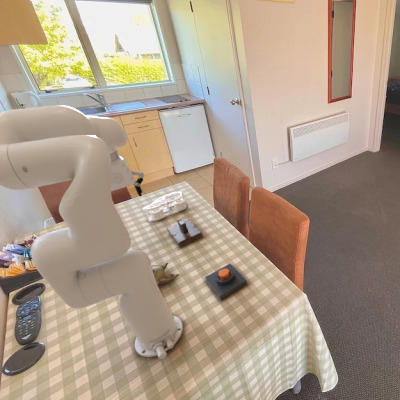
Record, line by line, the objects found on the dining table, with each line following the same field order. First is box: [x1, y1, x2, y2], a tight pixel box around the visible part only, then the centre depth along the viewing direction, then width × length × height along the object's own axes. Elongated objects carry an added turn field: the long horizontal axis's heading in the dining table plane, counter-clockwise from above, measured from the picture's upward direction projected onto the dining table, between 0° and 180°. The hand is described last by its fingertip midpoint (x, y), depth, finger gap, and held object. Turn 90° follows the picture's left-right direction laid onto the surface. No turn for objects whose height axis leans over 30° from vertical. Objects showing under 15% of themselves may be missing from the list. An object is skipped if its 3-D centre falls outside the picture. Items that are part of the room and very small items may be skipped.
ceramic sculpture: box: [151, 262, 180, 286], centre depth 94 cm, size 11×9×15 cm
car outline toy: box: [142, 190, 188, 223], centre depth 136 cm, size 20×11×7 cm, turn 137°
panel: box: [167, 219, 204, 249], centre depth 120 cm, size 14×10×3 cm
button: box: [218, 269, 230, 280], centre depth 94 cm, size 4×4×2 cm
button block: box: [205, 263, 248, 301], centre depth 96 cm, size 12×10×4 cm
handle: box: [176, 217, 188, 234], centre depth 118 cm, size 6×2×5 cm, turn 44°
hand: (125, 199), depth 100 cm, fingers open, 9 cm apart
